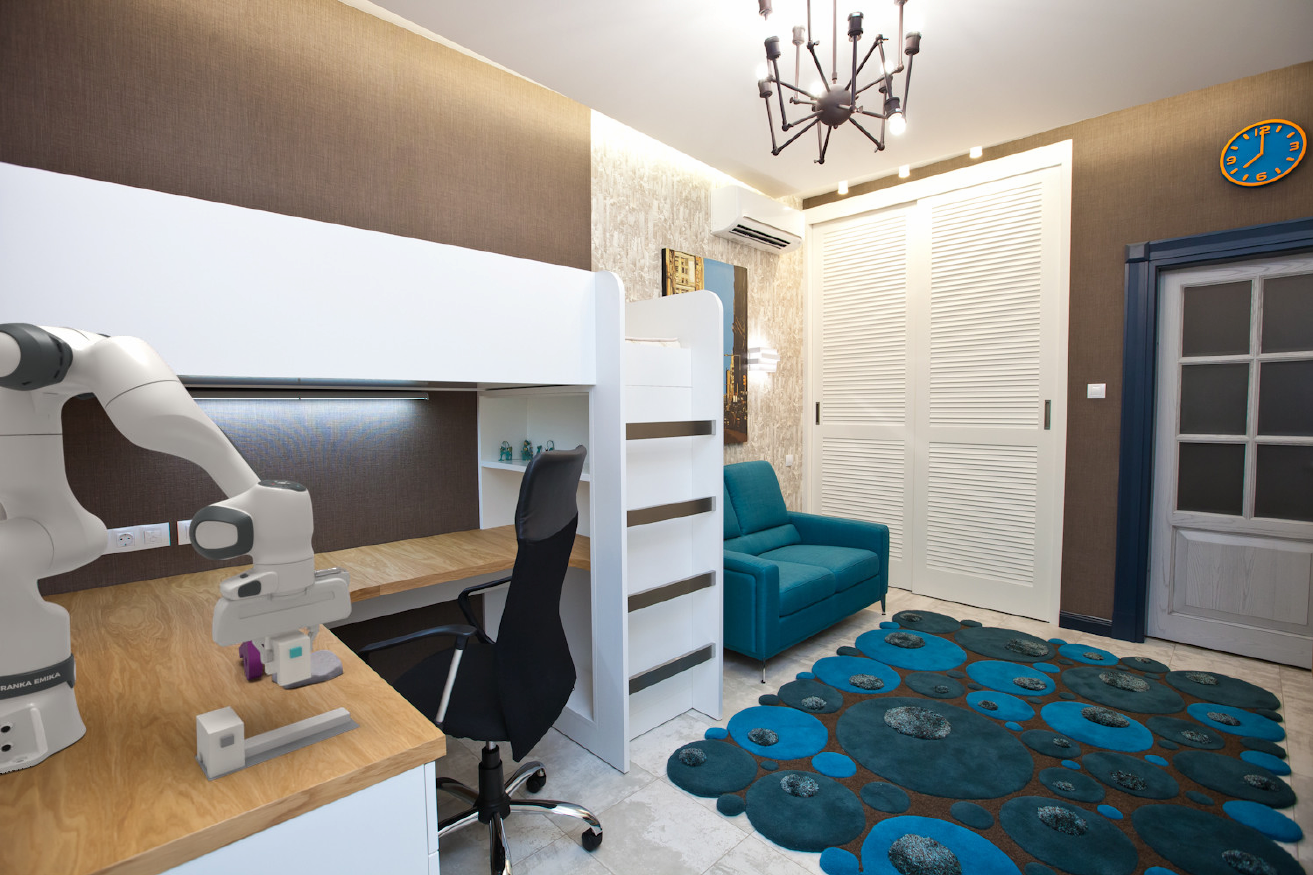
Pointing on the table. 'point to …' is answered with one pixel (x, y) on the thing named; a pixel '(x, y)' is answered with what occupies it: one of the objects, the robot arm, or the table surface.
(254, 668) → the mounting bracket
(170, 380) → the robot arm
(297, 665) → the block
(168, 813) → the table surface
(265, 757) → the rail plate
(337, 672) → the stone block
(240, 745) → the white grey-marked block
